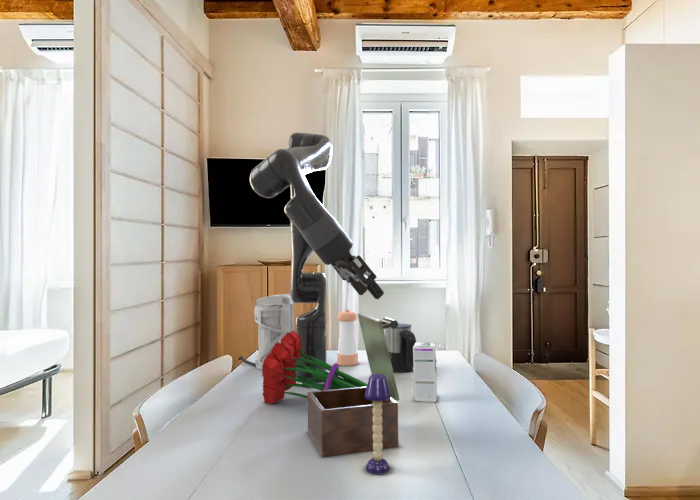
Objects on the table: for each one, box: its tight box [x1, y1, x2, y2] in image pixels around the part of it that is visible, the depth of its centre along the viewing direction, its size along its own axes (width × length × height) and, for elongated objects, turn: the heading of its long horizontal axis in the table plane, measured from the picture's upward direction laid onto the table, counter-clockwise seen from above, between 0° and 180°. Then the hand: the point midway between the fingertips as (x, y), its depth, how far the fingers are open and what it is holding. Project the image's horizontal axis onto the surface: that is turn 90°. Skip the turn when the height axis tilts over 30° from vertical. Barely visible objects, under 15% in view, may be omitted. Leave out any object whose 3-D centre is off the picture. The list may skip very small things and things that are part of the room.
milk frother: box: [384, 323, 437, 373], centre depth 163 cm, size 14×16×15 cm
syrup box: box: [412, 341, 438, 403], centre depth 129 cm, size 6×6×14 cm
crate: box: [306, 386, 399, 458], centre depth 101 cm, size 16×14×9 cm
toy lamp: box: [365, 374, 392, 475], centre depth 87 cm, size 5×5×17 cm
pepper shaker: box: [336, 308, 359, 367], centre depth 173 cm, size 7×7×19 cm
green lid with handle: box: [357, 312, 400, 402], centre depth 104 cm, size 16×14×6 cm
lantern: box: [254, 293, 294, 370], centre depth 169 cm, size 13×10×25 cm
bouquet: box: [261, 330, 368, 404], centre depth 125 cm, size 20×16×30 cm
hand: (371, 294), depth 105 cm, fingers open, 8 cm apart
